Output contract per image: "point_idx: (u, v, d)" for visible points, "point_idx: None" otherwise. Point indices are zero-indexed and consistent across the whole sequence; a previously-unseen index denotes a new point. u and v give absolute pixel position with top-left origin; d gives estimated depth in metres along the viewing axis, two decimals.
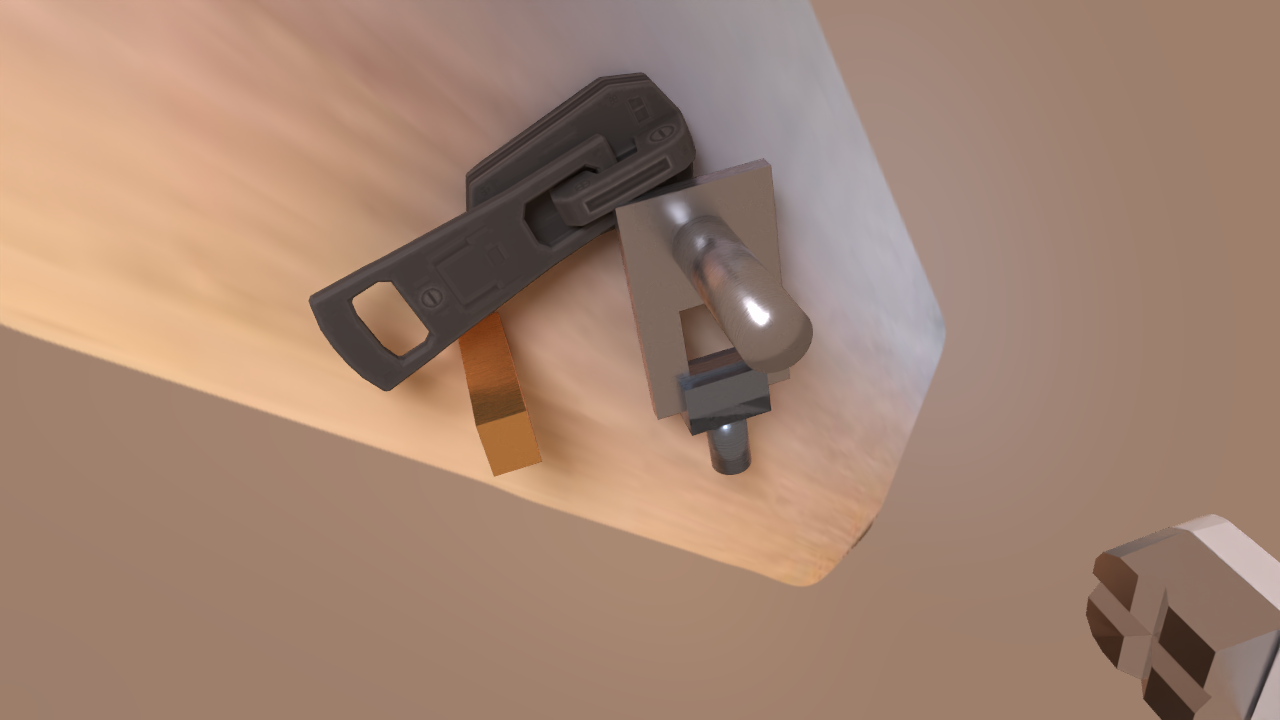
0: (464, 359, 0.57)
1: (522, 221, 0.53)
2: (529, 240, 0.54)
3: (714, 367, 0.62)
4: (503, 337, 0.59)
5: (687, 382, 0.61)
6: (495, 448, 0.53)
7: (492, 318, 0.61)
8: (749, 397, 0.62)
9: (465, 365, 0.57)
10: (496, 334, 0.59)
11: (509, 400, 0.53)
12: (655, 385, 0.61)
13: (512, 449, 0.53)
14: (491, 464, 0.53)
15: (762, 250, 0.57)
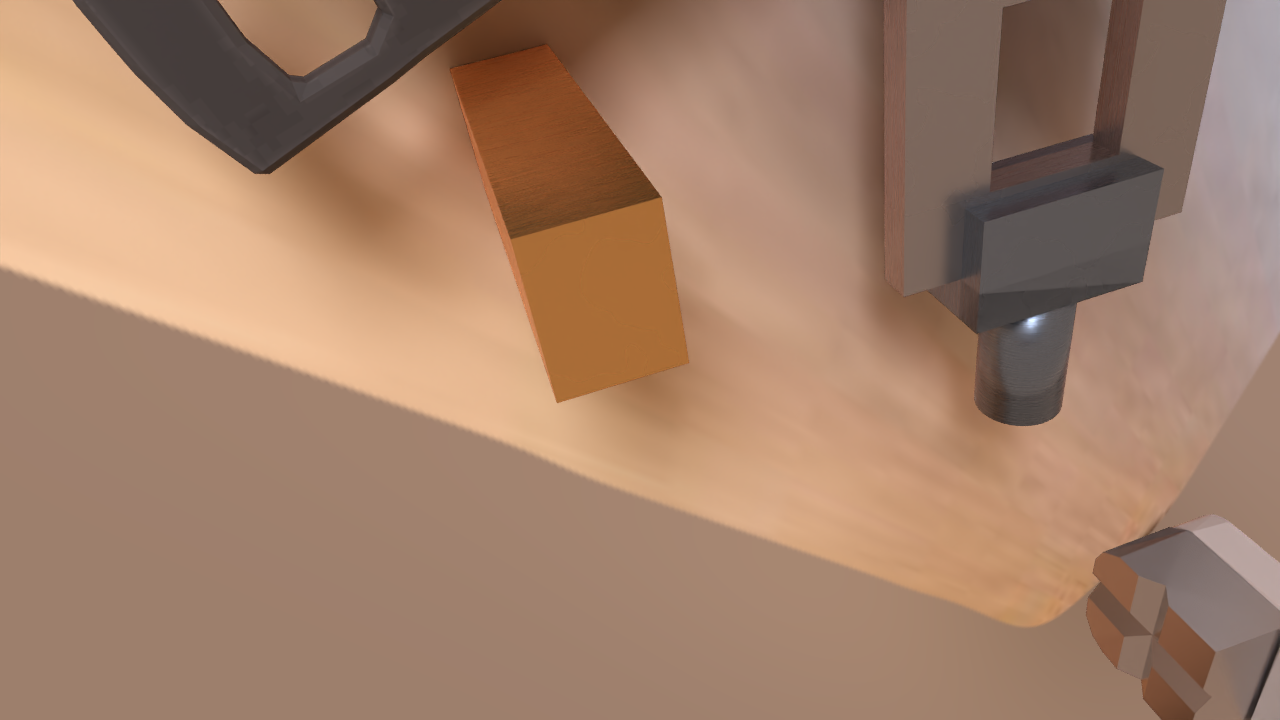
0: (471, 116, 0.23)
1: None
2: None
3: (1040, 174, 0.27)
4: (566, 76, 0.24)
5: (984, 205, 0.27)
6: (565, 317, 0.18)
7: (534, 53, 0.26)
8: (1110, 246, 0.28)
9: (474, 125, 0.22)
10: (547, 74, 0.24)
11: (603, 178, 0.18)
12: (913, 210, 0.26)
13: (613, 324, 0.18)
14: (551, 366, 0.18)
15: None
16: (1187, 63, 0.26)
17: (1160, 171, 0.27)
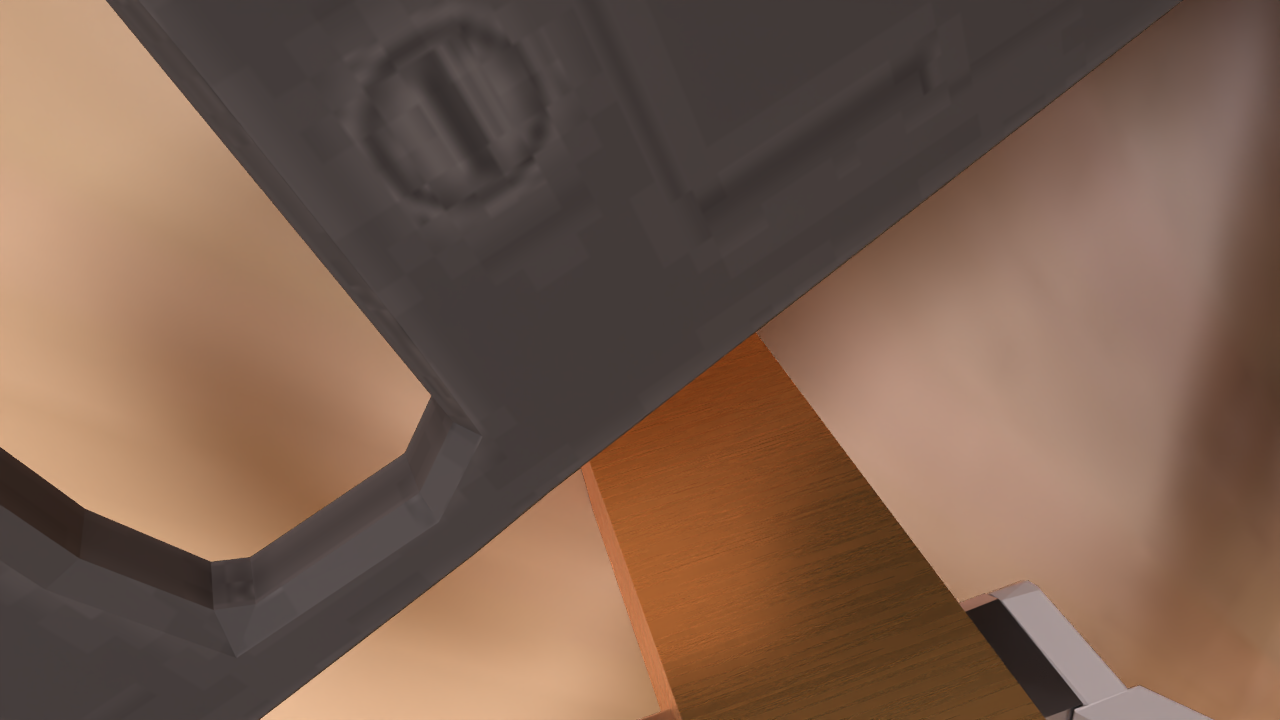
0: (624, 531, 0.10)
1: None
2: None
3: None
4: (798, 402, 0.12)
5: None
6: None
7: None
8: None
9: (640, 576, 0.10)
10: (752, 388, 0.12)
11: None
12: None
13: None
14: None
15: None
16: None
17: None
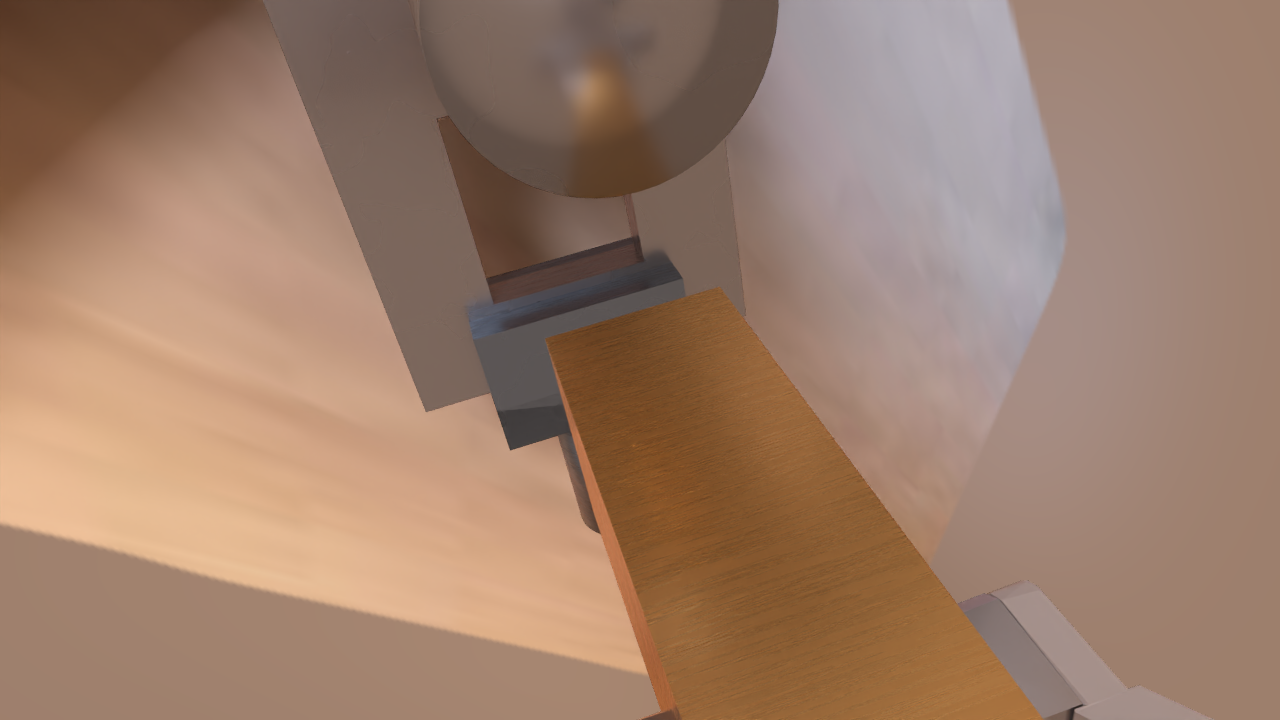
0: (625, 534, 0.10)
1: None
2: None
3: (556, 283, 0.25)
4: (798, 405, 0.12)
5: (488, 318, 0.25)
6: None
7: (703, 313, 0.14)
8: None
9: (641, 579, 0.10)
10: (752, 390, 0.12)
11: None
12: (403, 325, 0.24)
13: None
14: None
15: None
16: (695, 167, 0.24)
17: (679, 281, 0.25)
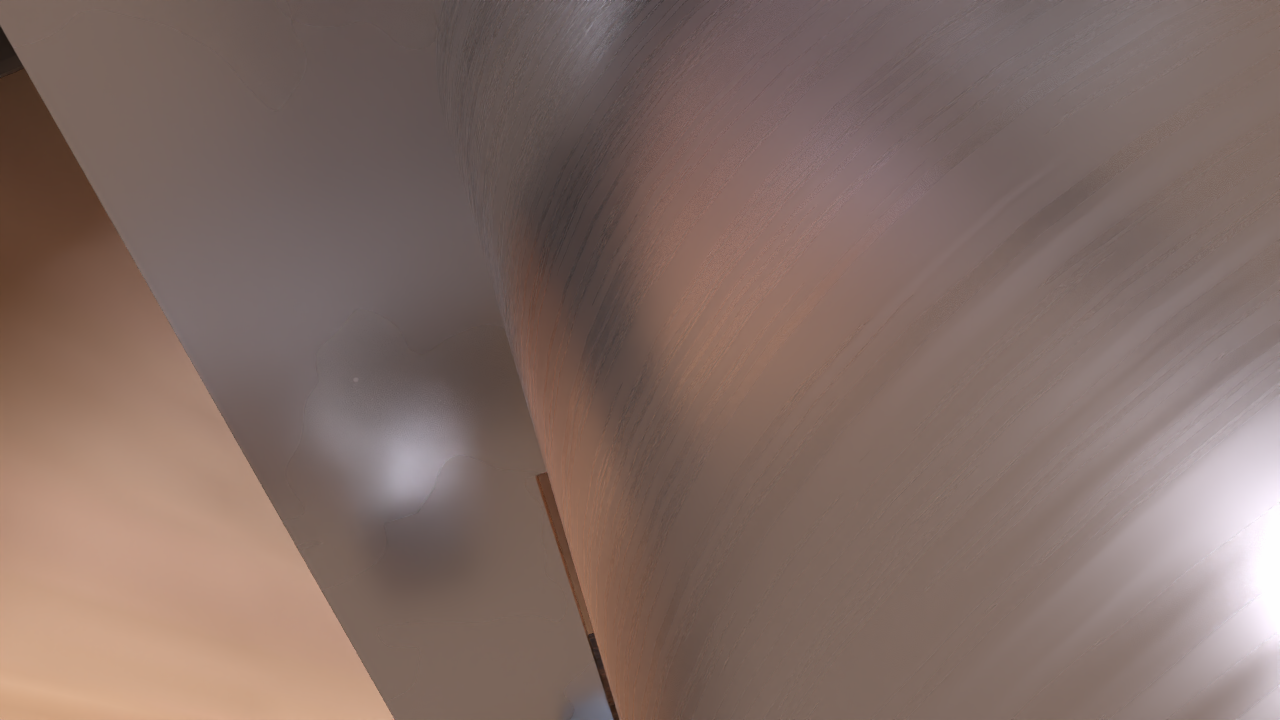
0: None
1: None
2: None
3: None
4: None
5: None
6: None
7: None
8: None
9: None
10: None
11: None
12: None
13: None
14: None
15: None
16: None
17: None
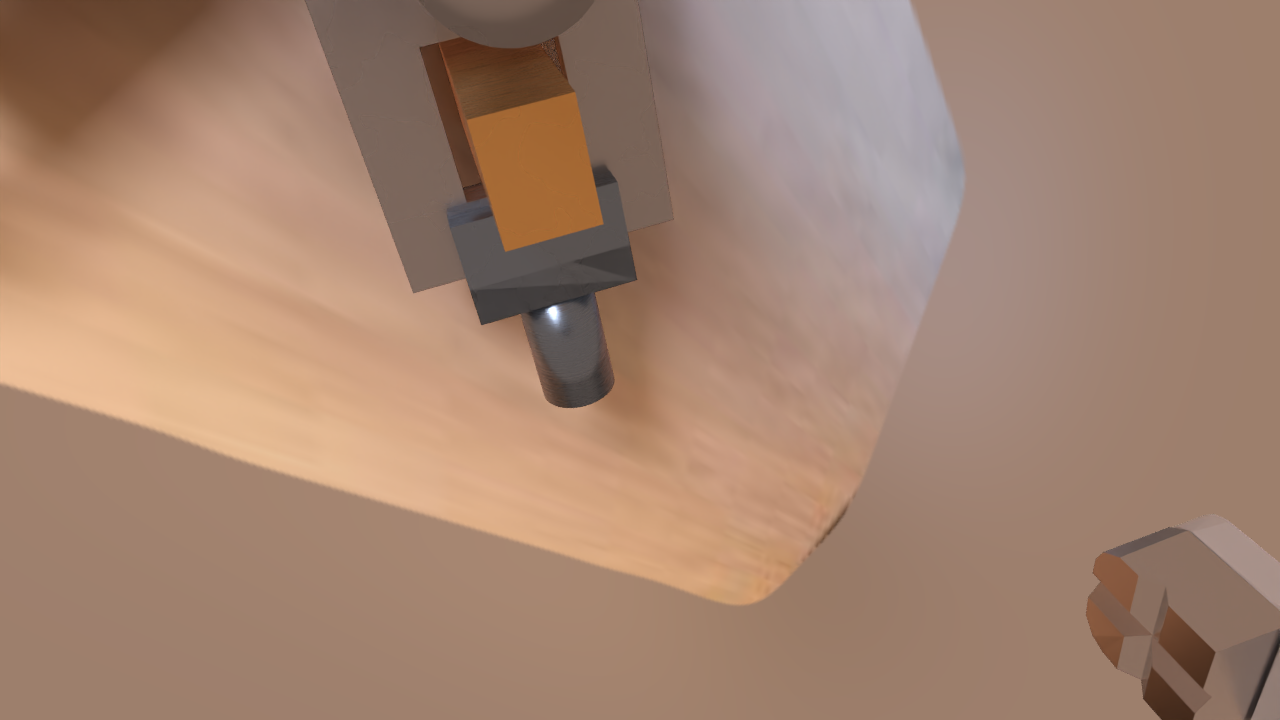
0: (446, 52, 0.29)
1: None
2: None
3: None
4: None
5: (462, 213, 0.31)
6: (508, 183, 0.25)
7: None
8: (590, 249, 0.32)
9: (447, 57, 0.29)
10: None
11: (537, 83, 0.25)
12: (395, 218, 0.31)
13: (544, 189, 0.25)
14: (499, 221, 0.25)
15: None
16: (625, 91, 0.30)
17: (614, 184, 0.31)
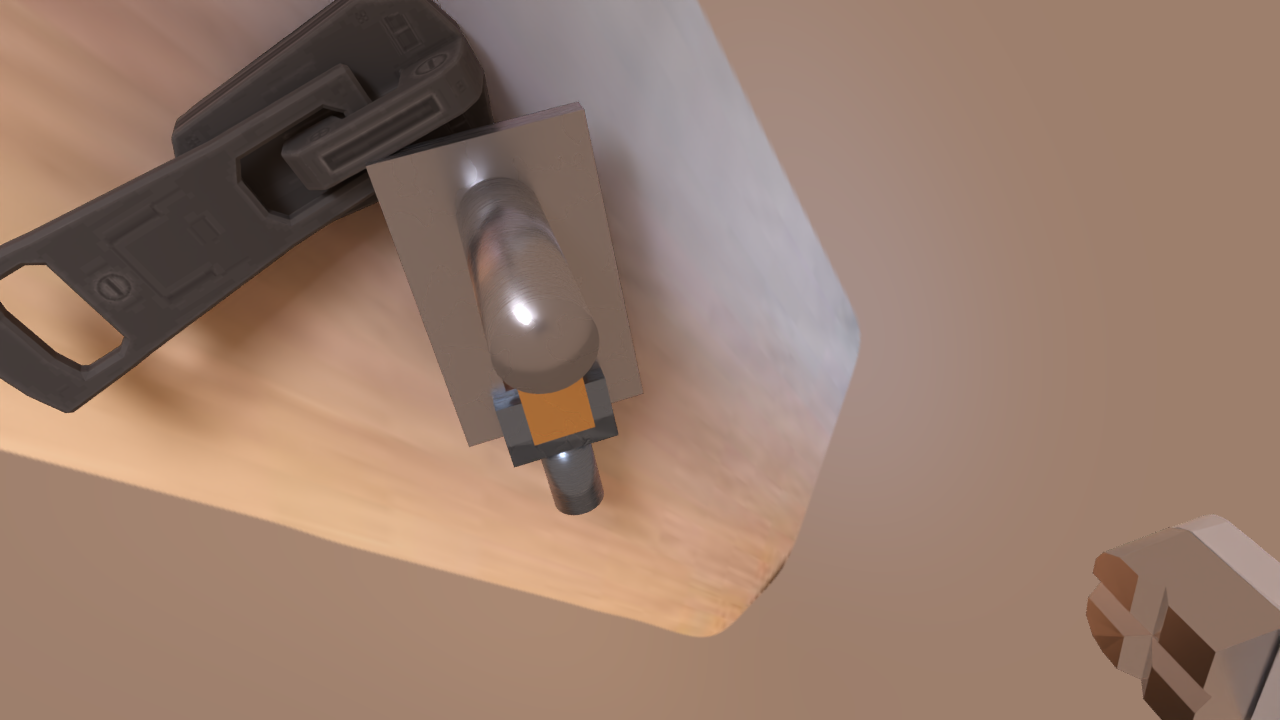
0: None
1: (236, 182, 0.39)
2: (252, 209, 0.40)
3: None
4: None
5: (503, 398, 0.47)
6: (537, 409, 0.41)
7: None
8: None
9: None
10: None
11: None
12: (459, 403, 0.47)
13: (559, 410, 0.41)
14: (531, 429, 0.41)
15: (585, 226, 0.43)
16: (610, 321, 0.47)
17: (603, 379, 0.47)
